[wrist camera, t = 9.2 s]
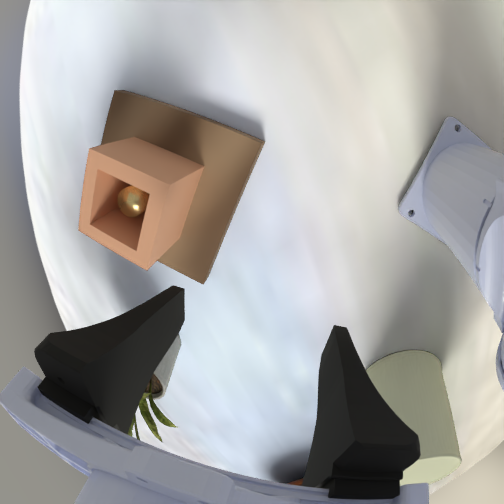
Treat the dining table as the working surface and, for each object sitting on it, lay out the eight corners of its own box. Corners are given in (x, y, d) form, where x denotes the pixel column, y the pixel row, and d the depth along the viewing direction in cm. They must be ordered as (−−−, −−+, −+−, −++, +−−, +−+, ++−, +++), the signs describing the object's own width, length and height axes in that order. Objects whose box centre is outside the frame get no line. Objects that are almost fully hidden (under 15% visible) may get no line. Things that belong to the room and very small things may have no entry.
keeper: (265, 141, 19) (248, 150, 15) (208, 276, 25) (186, 310, 21) (123, 90, 19) (83, 91, 15) (96, 218, 25) (63, 238, 21)
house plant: (79, 291, 30) (-11, 383, 16) (153, 250, 25) (22, 386, 11) (149, 377, 35) (90, 475, 20) (235, 364, 29) (180, 507, 15)
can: (375, 345, 24) (383, 465, 14) (455, 351, 23) (484, 454, 12) (347, 401, 29) (342, 498, 18) (419, 404, 27) (427, 493, 17)
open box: (204, 166, 19) (169, 185, 15) (179, 238, 22) (147, 270, 18) (134, 136, 19) (89, 148, 15) (118, 206, 22) (78, 230, 18)
